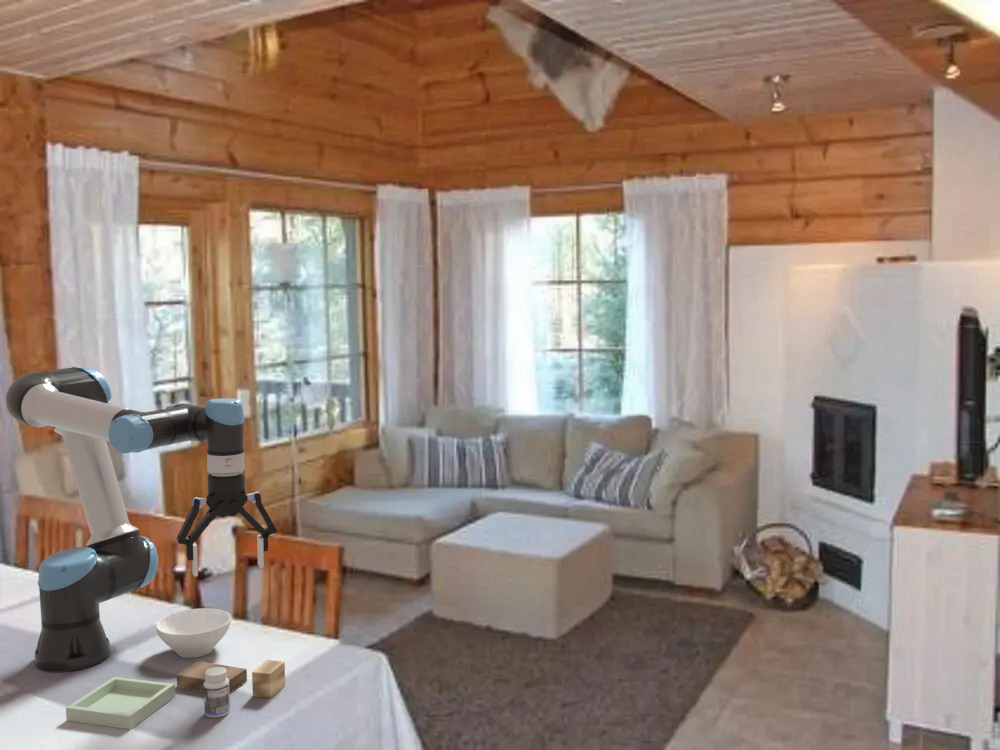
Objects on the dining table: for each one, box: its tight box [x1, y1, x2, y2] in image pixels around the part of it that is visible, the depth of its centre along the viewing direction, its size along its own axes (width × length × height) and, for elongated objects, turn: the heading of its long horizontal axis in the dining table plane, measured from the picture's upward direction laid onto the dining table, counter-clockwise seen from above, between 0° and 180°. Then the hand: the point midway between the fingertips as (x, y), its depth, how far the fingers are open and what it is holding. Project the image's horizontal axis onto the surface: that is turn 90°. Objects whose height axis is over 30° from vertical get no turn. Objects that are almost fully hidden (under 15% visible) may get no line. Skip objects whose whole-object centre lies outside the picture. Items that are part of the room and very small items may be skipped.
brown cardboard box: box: [176, 660, 248, 693], centre depth 192 cm, size 12×7×3 cm, turn 70°
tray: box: [65, 676, 176, 730], centre depth 181 cm, size 14×14×3 cm
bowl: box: [155, 607, 232, 659], centre depth 208 cm, size 16×16×7 cm
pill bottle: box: [203, 667, 231, 719], centre depth 179 cm, size 5×5×8 cm
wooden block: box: [251, 659, 286, 699], centre depth 188 cm, size 4×6×5 cm, turn 165°
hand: (228, 570), depth 198 cm, fingers open, 13 cm apart
